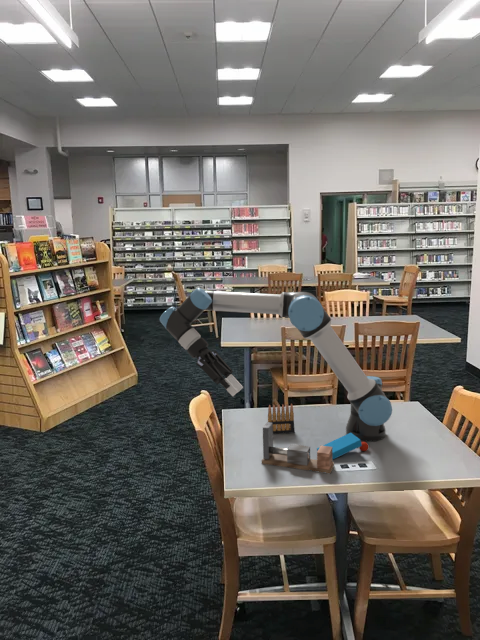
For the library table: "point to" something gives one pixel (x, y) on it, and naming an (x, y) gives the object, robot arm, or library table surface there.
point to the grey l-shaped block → (271, 443)
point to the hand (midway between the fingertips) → (238, 391)
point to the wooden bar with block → (303, 459)
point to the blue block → (346, 445)
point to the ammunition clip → (281, 419)
